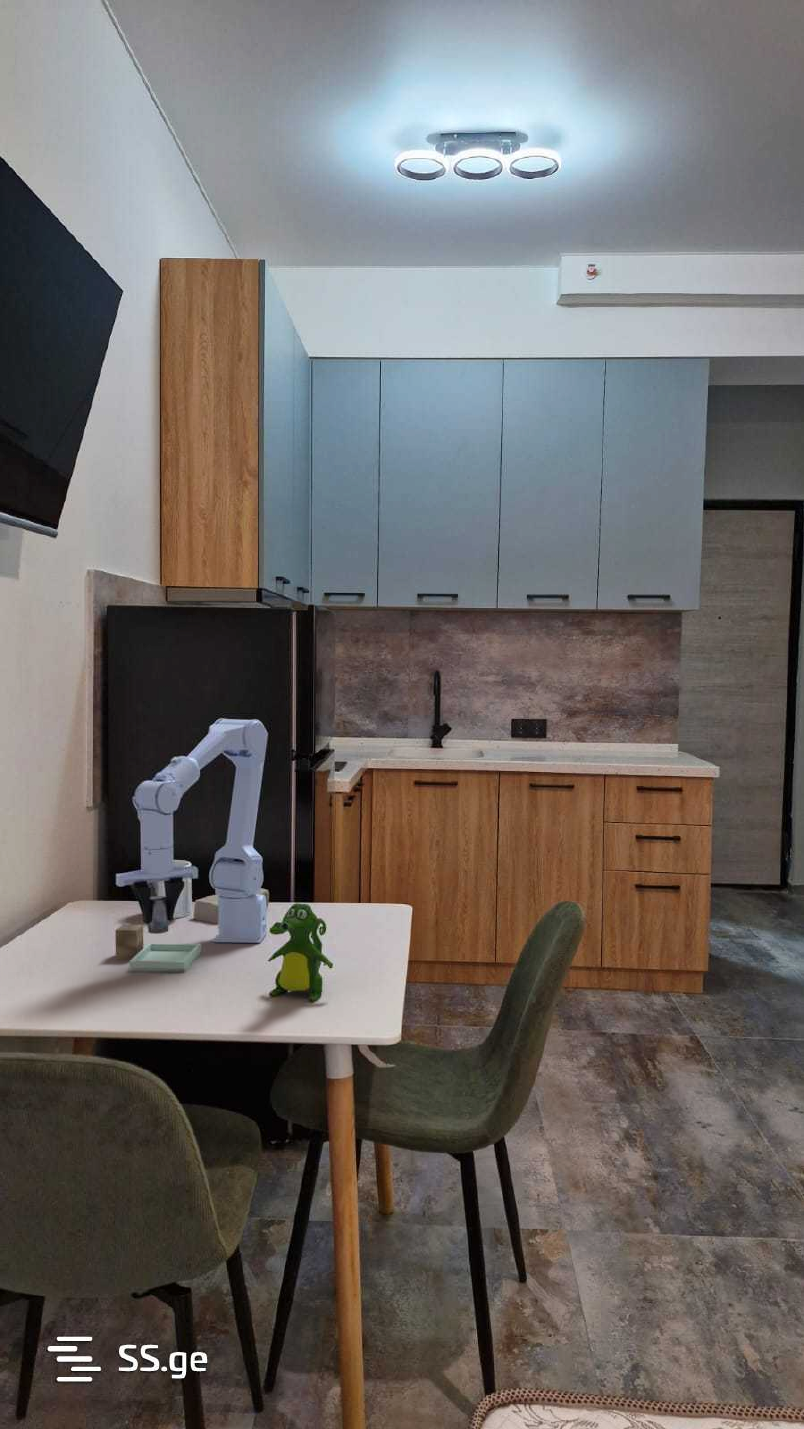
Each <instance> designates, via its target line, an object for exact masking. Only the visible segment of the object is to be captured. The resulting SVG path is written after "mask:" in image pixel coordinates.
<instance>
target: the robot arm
mask: <svg viewBox="0 0 804 1429" xmlns="http://www.w3.org/2000/svg"><path fill="white" fill-rule="evenodd" d="M268 736H269V733H268V731H267V729H266V727H265V726H264V724H263V722H262V721H260V720H259V719H256V718H255V719H232V718H230V719H229V718H222V717H221V718H218V719H217V720H216V721H214V723H213V724H211V725H209V727H208V734H206V736H205V737H204V738H203V739H202V740H201V741H200V742H199V743H198V744H197V745H196V746H195V748H194V749H193V750H191V752H190V753H189V754H188V755H187V756H184V755H180V756H174V757H173V758H171V759H170V763H169V764H168V765H167V766H165V768H163V769H162V770H161V771H160V772H156V774H155V776H154V777H153V778H152V780H145V781H142V782H141V783H140V784H139V785H138V786H137V788H136V789H135V792H134V796H132V803H133V806H134V808H135V809H136V811H137V819H138V821H140V868H141V869H140V870H139V869H138V870H133V871H128V872H124V873H123V872H122V873H116V874H115V885H116V886H118V887H125V886H130V887H131V890H132V891H133V893H134V896H135V897H136V900H137V903H138V905H139V907H140V911H141V915H142V922H143V923H144V924H145V925H148V924H149V923H150V894H151V889H150V888H149V885H148V884H147V883H149V882H158V881H164V886H165V896H166V897H168V922H171V921H174V920H173V919H174V918H173V915H174V911H175V907H176V904H177V901H178V898H179V896H180V894H181V892H182V890H183V888H184V885H185V882H184V881H183V879H186V878H192V879H198V878H199V869H198V867H196V865H191V866H189V867H174V863H173V860H174V812H175V811H177V810H178V808H179V805H180V802H181V799H182V798H183V795H184V794H185V793H186V792H187V791H188V790H189V789H190V788H191V787H192V786H193V785H194V784H195V783H196V782H197V781H198V780H199V779H200V776H201V771H200V770H202V769H203V768H204V767H206V765H208V764H209V763H210V762H212V761H213V760H214V759H215V758H217V757H218V756H219V755H220V754H221V753H222V755H224V756H225V757H227V759H228V760H230V761H231V762H232V763H233V765H234V766H235V775H234V783H233V789H232V798H231V805H230V813H229V819H228V825H227V834H226V842H225V844H224V845H223V846H222V847H221V848H220V849H218V850H217V851H216V852H215V854H214V860H213V862H212V865H211V867H210V869H209V874H208V879H209V883H210V886H211V888H213V889H214V890H215V894H214V895H217V894H218V923H217V924H218V932H217V935H216V936H215V937H214V938H213V939H212V942H213V943H242V944H243V943H253V944H255V943H256V944H258V943H261V942H262V941H263V940H264V938H265V936H266V935H267V933H268V931H267V908H266V897H265V895H259V894H258V891H259V889H260V888H261V887H262V885H263V882H264V870H263V860H264V859H263V857H262V855H260V853H259V852H258V851H257V850H256V849H255V848H254V840H255V833H256V832H255V831H256V825H257V817H258V811H259V810H258V809H259V803H260V802H259V801H260V795H261V787H262V780H263V772H264V765H265V760H266V759H265V758H266V750H267V746H268V738H269V737H268ZM236 859H237V860H241V861H237V860H236Z"/></svg>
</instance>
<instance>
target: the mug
mask: <svg viewBox="0 0 804 1429" xmlns="http://www.w3.org/2000/svg"><path fill="white" fill-rule="evenodd" d="M173 863H174V867H189V866H192V863H191V861H187V860H181V859H179V860H178V859H173ZM192 879H193V878H186V879H183V881H184V882H185V885H184V888H183V890H182V892H181V894H180V896H179V898H178V901H177V904H176V907H175V911H174V915H173V919H179V918H183V917H184V918H185V917H187V916H190V915H191V914H192V912H193V903H192V902H193V898H192V896H193V895H192V894H193V890H192V888H193V887H192V885H193V884H192ZM147 884H148V885H149V888H150V889H151V894H150V897H154V896H165V886H164V881H158V882H149V883H147Z"/></svg>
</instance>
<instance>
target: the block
mask: <svg viewBox="0 0 804 1429" xmlns="http://www.w3.org/2000/svg"><path fill="white" fill-rule="evenodd" d="M143 948H144V924H121V925H120V926H119V927H118V928H116V929H115V960H131V959H133V958H134V957H135V956H136V955H137V954H138V953H139V952H140V951H141V950H142V949H143Z"/></svg>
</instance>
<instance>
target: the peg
mask: <svg viewBox="0 0 804 1429" xmlns="http://www.w3.org/2000/svg"><path fill="white" fill-rule="evenodd" d="M147 931H148V932H147V933H149V934H153V935H154V934H156V935H157V934H164V933H167V932H168V931H169V920H168V897H166V896H154V897H150V923H149V924H147Z"/></svg>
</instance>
